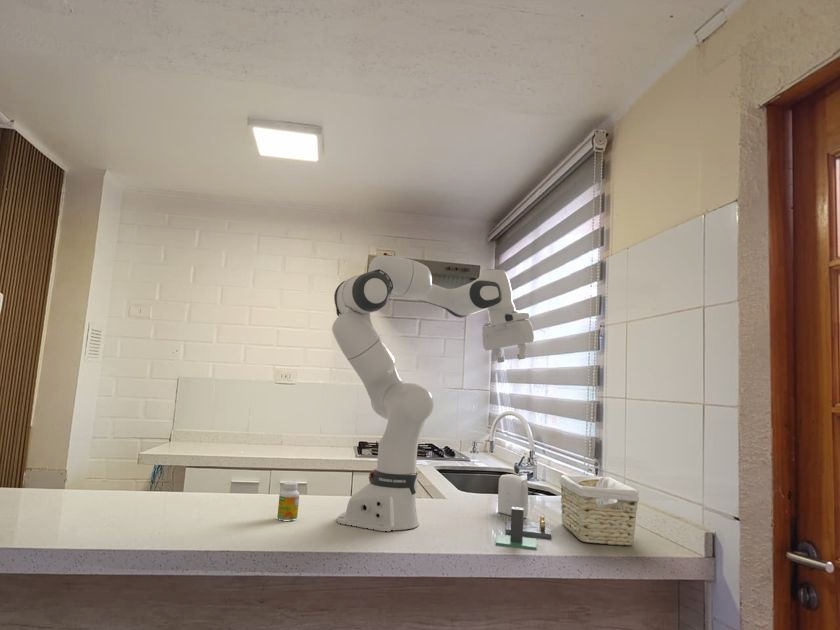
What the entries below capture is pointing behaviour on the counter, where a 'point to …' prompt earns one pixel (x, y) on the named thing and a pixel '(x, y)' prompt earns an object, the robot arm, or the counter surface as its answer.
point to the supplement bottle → (288, 501)
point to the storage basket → (599, 509)
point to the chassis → (533, 528)
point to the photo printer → (512, 494)
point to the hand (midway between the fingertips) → (511, 360)
